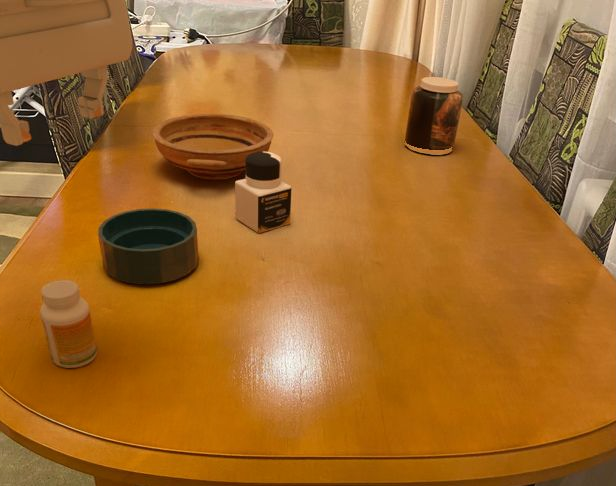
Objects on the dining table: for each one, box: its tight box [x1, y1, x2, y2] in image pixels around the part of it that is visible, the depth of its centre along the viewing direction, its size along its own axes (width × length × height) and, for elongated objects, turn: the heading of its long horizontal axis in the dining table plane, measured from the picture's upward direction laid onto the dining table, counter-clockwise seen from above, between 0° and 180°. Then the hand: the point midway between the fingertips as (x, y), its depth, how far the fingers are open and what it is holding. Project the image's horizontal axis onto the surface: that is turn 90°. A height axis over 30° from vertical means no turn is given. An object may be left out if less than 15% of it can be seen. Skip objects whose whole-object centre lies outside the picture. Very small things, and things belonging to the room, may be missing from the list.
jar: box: [404, 76, 464, 150], centre depth 141 cm, size 12×12×15 cm
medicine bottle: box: [234, 151, 292, 234], centre depth 104 cm, size 7×7×12 cm
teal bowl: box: [97, 207, 200, 285], centre depth 92 cm, size 14×14×6 cm
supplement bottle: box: [39, 279, 98, 369], centre depth 72 cm, size 5×5×10 cm
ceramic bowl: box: [151, 113, 274, 181], centre depth 124 cm, size 30×24×8 cm
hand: (57, 128), depth 56 cm, fingers open, 8 cm apart
